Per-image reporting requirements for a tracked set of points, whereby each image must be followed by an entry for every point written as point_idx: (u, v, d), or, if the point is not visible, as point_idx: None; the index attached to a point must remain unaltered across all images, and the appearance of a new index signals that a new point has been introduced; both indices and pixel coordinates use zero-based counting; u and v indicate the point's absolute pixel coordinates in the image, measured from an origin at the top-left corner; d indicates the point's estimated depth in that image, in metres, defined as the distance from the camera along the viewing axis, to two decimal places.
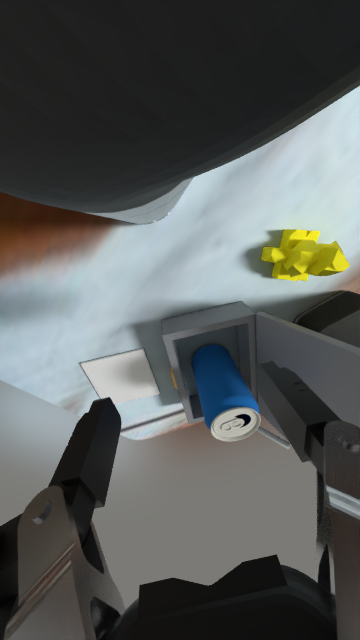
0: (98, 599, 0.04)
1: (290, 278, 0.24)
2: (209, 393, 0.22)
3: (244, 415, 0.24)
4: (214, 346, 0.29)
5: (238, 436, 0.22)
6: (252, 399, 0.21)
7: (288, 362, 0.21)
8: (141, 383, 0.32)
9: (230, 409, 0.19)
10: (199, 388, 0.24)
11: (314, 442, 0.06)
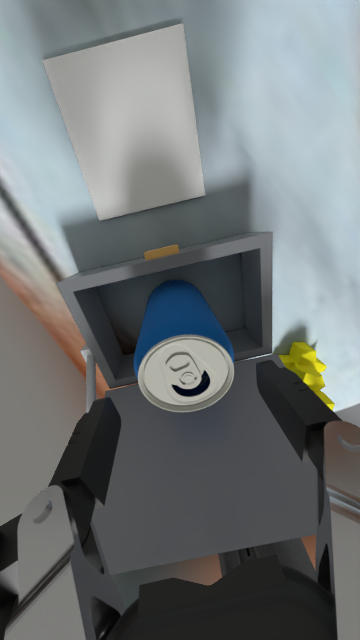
0: (98, 599, 0.04)
1: None
2: (213, 318, 0.12)
3: None
4: None
5: (147, 386, 0.11)
6: None
7: (252, 407, 0.16)
8: (125, 182, 0.16)
9: (231, 362, 0.11)
10: (189, 299, 0.14)
11: (314, 442, 0.06)
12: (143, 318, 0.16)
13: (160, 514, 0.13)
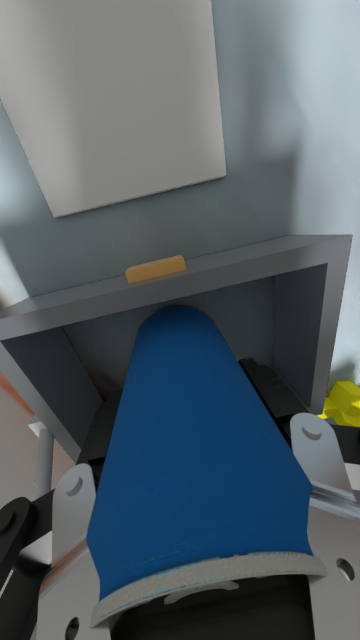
0: None
1: None
2: (266, 419, 0.06)
3: None
4: None
5: None
6: None
7: None
8: (93, 152, 0.09)
9: None
10: (207, 360, 0.07)
11: (283, 433, 0.07)
12: (124, 383, 0.09)
13: None
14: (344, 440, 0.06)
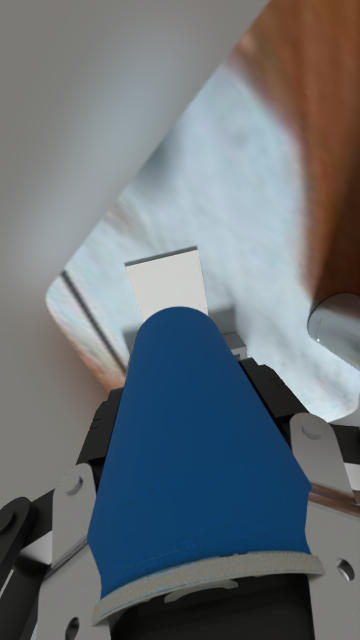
0: None
1: None
2: (265, 419, 0.06)
3: None
4: None
5: None
6: None
7: None
8: None
9: None
10: (207, 361, 0.07)
11: (283, 433, 0.07)
12: None
13: None
14: (344, 440, 0.06)
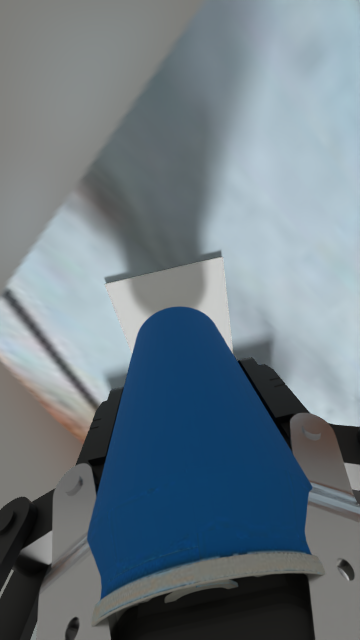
0: None
1: None
2: (265, 419, 0.06)
3: None
4: None
5: None
6: None
7: None
8: None
9: None
10: (207, 361, 0.07)
11: (283, 433, 0.07)
12: None
13: None
14: (344, 440, 0.06)
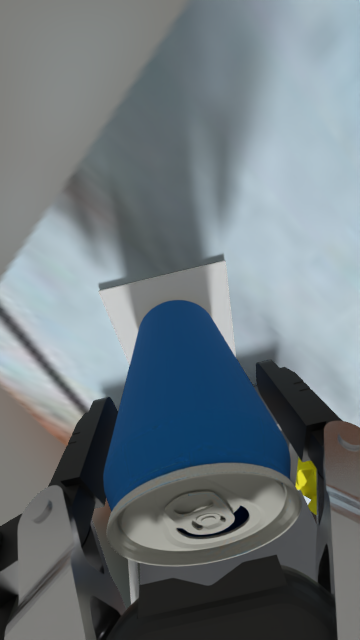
0: (98, 599, 0.04)
1: (301, 480, 0.26)
2: (248, 386, 0.07)
3: None
4: None
5: (128, 537, 0.06)
6: None
7: (283, 564, 0.18)
8: None
9: None
10: (201, 342, 0.09)
11: (314, 442, 0.06)
12: None
13: None
14: None
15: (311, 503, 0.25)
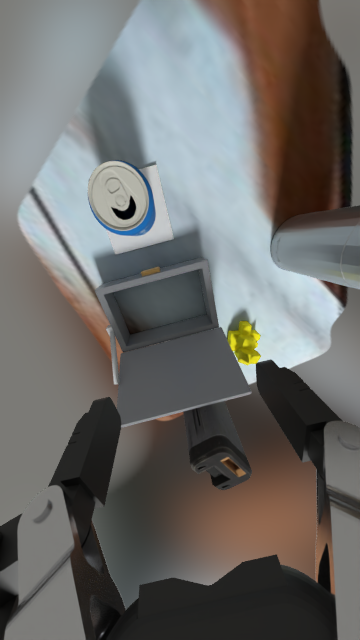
0: (98, 599, 0.04)
1: (232, 341, 0.38)
2: None
3: None
4: (155, 213, 0.28)
5: (95, 207, 0.18)
6: (147, 222, 0.20)
7: (203, 354, 0.30)
8: None
9: (145, 186, 0.18)
10: None
11: (314, 442, 0.06)
12: None
13: (153, 400, 0.26)
14: None
15: (239, 354, 0.37)
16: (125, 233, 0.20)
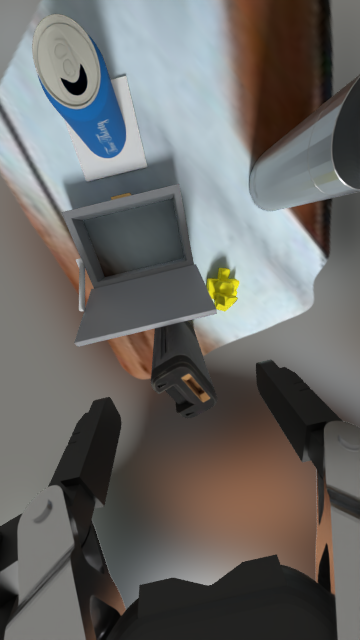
0: (98, 599, 0.04)
1: (210, 287, 0.37)
2: None
3: (63, 117, 0.20)
4: (125, 130, 0.26)
5: (43, 75, 0.17)
6: (103, 106, 0.19)
7: (173, 284, 0.29)
8: (100, 158, 0.28)
9: (96, 52, 0.16)
10: None
11: (314, 442, 0.06)
12: None
13: (116, 321, 0.25)
14: None
15: (216, 300, 0.36)
16: (79, 116, 0.19)
